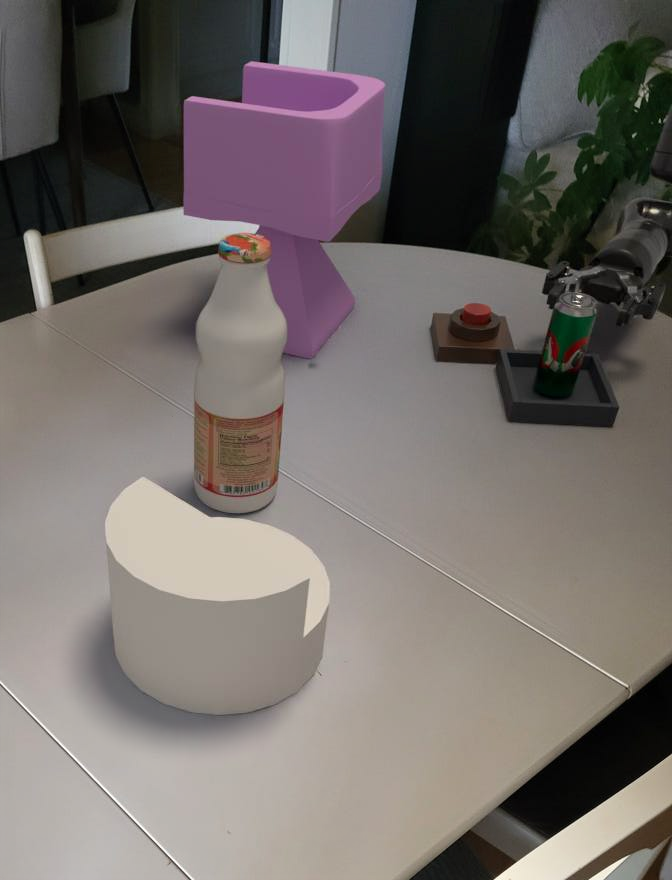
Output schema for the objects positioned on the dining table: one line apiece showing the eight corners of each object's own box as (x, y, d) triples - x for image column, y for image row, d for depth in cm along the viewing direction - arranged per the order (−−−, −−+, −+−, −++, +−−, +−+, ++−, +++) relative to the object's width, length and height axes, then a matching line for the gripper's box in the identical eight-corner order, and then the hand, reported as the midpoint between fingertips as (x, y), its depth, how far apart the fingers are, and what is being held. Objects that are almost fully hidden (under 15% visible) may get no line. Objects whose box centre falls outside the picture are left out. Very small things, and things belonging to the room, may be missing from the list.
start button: (486, 315, 134) (489, 303, 133) (490, 327, 131) (492, 315, 130) (460, 314, 134) (462, 302, 133) (462, 326, 131) (465, 314, 130)
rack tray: (591, 372, 130) (597, 353, 128) (612, 427, 120) (619, 407, 118) (495, 368, 130) (499, 348, 129) (508, 421, 121) (513, 401, 119)
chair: (241, 280, 150) (249, 60, 130) (364, 306, 144) (394, 78, 123) (183, 334, 137) (183, 99, 117) (316, 365, 131) (340, 122, 110)
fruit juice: (176, 491, 110) (173, 242, 91) (233, 458, 115) (241, 215, 95) (237, 526, 105) (248, 271, 86) (294, 490, 110) (316, 241, 91)
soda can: (575, 385, 126) (603, 295, 117) (569, 403, 122) (596, 312, 114) (536, 377, 127) (560, 287, 119) (528, 394, 124) (552, 304, 116)
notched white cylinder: (367, 637, 93) (386, 525, 83) (219, 751, 83) (222, 637, 73) (217, 544, 103) (219, 435, 94) (70, 635, 93) (56, 522, 84)
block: (501, 330, 138) (508, 303, 136) (511, 364, 131) (518, 336, 128) (430, 327, 139) (435, 300, 136) (436, 361, 132) (441, 333, 129)
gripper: (578, 226, 132) (538, 268, 122) (687, 249, 126) (654, 295, 116) (564, 280, 137) (524, 324, 127) (668, 305, 131) (634, 353, 122)
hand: (586, 310), depth 122 cm, fingers open, 8 cm apart
